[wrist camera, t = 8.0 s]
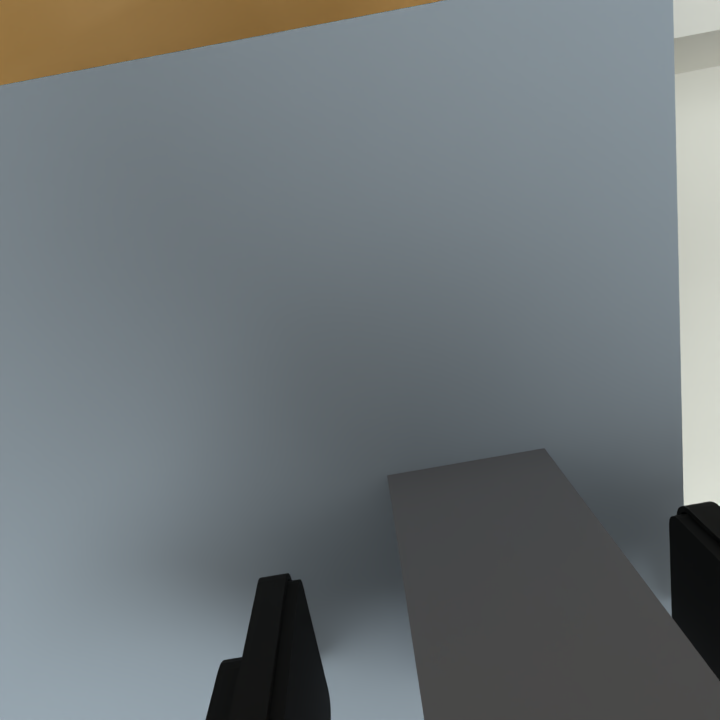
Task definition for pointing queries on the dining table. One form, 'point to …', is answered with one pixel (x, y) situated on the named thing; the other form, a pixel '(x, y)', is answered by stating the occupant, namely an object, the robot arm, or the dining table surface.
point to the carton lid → (350, 367)
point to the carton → (699, 240)
